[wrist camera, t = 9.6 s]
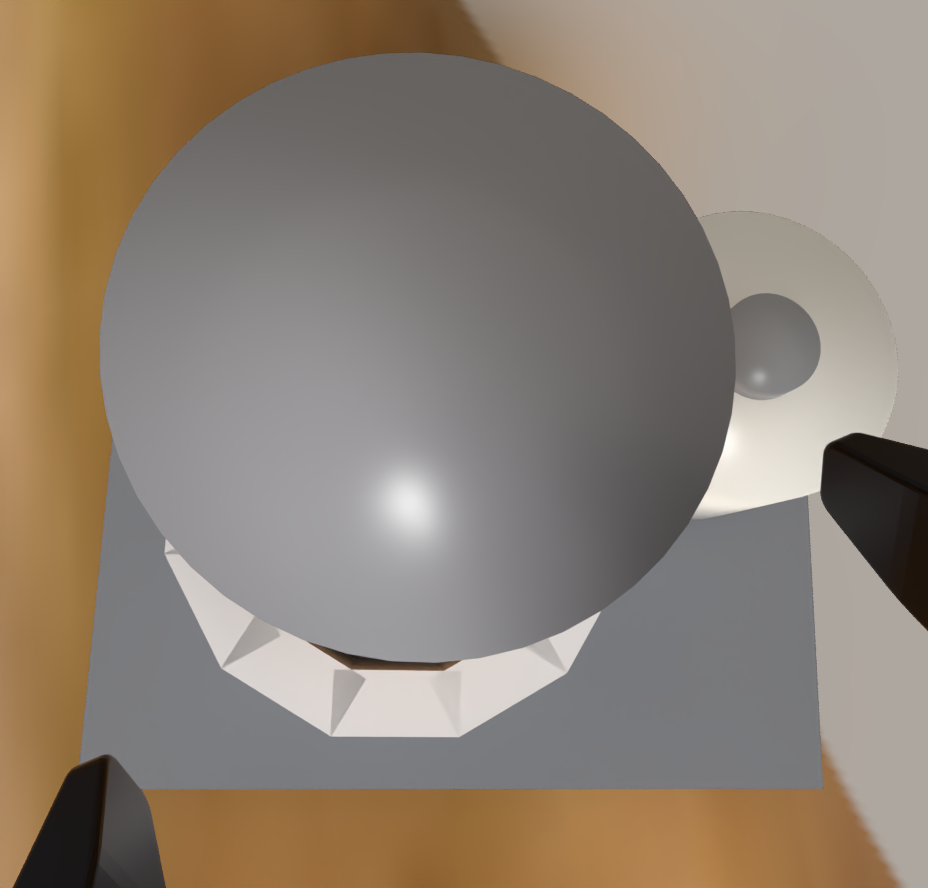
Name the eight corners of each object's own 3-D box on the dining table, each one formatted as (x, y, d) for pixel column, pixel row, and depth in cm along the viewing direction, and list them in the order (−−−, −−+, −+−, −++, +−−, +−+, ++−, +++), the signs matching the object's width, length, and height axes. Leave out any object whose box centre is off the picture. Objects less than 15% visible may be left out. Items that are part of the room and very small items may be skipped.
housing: (777, 289, 23) (909, 190, 17) (801, 779, 20) (960, 846, 15) (144, 247, 21) (65, 122, 15) (92, 779, 19) (-23, 855, 13)
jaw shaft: (541, 476, 20) (828, 234, 7) (439, 669, 19) (565, 790, 6) (356, 373, 20) (314, -48, 7) (244, 560, 19) (-38, 453, 6)
